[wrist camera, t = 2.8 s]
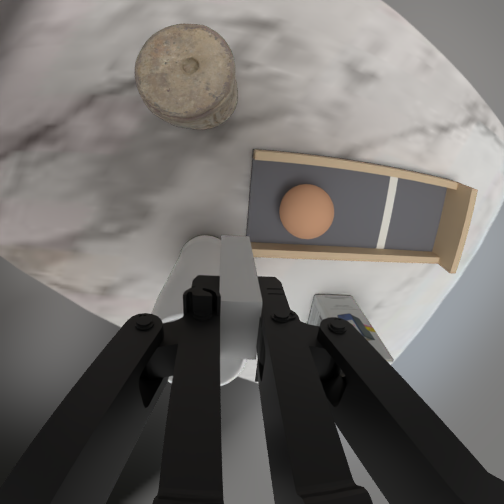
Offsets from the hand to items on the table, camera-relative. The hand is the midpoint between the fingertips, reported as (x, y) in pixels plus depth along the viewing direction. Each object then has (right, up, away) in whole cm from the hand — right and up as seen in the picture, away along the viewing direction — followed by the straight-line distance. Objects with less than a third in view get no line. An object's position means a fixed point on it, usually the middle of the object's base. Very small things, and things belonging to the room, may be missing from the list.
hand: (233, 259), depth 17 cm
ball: (+6, +5, +13) cm, 15 cm away
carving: (-4, +15, +8) cm, 18 cm away
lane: (+13, +5, +14) cm, 20 cm away
